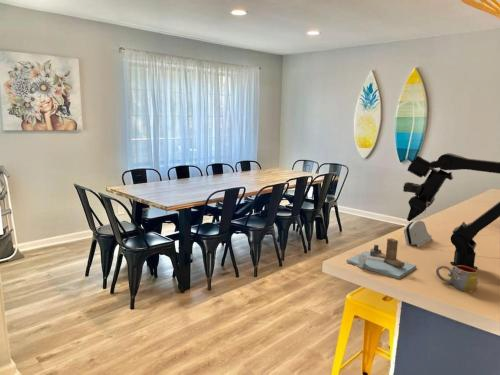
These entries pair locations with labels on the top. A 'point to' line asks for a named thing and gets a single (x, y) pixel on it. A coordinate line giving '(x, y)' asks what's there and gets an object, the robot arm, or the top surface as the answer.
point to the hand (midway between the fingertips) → (410, 218)
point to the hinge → (416, 233)
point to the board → (383, 266)
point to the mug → (461, 277)
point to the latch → (388, 253)
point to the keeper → (363, 258)
